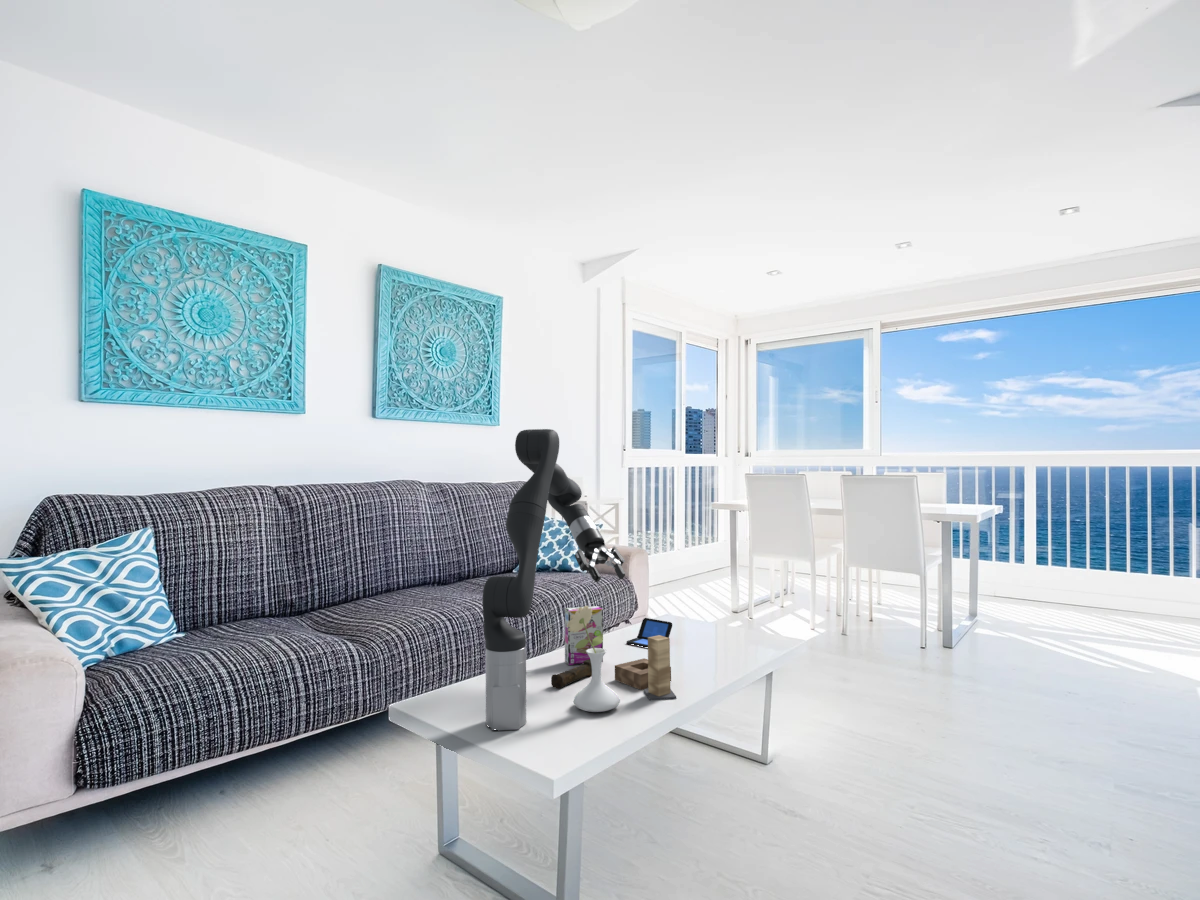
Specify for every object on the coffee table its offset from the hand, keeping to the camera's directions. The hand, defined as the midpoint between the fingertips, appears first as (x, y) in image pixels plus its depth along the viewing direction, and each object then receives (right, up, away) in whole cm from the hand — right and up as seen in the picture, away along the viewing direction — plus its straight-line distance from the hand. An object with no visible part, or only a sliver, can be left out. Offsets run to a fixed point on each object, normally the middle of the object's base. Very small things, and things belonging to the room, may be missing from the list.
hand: (610, 578), depth 177 cm
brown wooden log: (-10, -29, 0) cm, 30 cm away
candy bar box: (-8, -29, +17) cm, 35 cm away
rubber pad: (+12, -27, -14) cm, 33 cm away
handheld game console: (+14, -30, +38) cm, 50 cm away
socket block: (+9, -28, -2) cm, 29 cm away
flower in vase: (-5, -27, -23) cm, 36 cm away
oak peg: (+12, -27, -14) cm, 32 cm away
